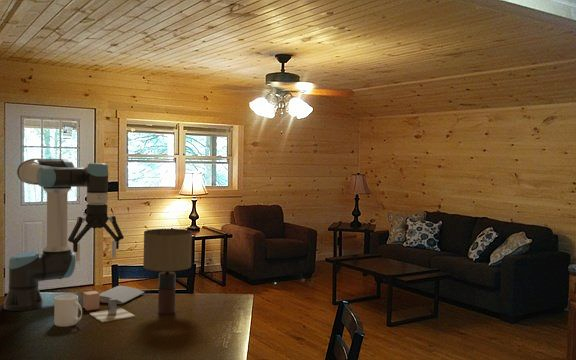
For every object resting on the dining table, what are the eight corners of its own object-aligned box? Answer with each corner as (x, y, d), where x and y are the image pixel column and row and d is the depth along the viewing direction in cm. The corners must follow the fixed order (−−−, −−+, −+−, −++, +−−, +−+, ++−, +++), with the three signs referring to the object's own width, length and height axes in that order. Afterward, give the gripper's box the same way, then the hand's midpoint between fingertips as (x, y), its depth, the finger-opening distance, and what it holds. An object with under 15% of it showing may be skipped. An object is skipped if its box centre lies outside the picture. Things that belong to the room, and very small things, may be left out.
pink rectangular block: (83, 307, 236) (83, 292, 236) (94, 305, 239) (95, 290, 239) (87, 310, 232) (87, 294, 232) (99, 308, 235) (99, 293, 235)
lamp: (132, 314, 227) (134, 232, 226) (160, 303, 246) (162, 227, 245) (172, 321, 220) (174, 236, 219) (198, 309, 239) (200, 230, 237)
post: (107, 315, 226) (108, 298, 225) (113, 314, 227) (114, 298, 227) (110, 317, 224) (110, 300, 223) (116, 316, 225) (116, 299, 225)
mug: (73, 329, 206) (74, 301, 206) (49, 325, 210) (49, 298, 210) (89, 323, 214) (89, 296, 214) (65, 319, 218) (66, 293, 218)
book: (90, 304, 244) (90, 295, 244) (117, 292, 266) (117, 284, 266) (121, 307, 241) (121, 298, 241) (145, 294, 263) (145, 287, 263)
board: (89, 314, 226) (89, 313, 226) (121, 309, 235) (121, 307, 235) (101, 322, 215) (101, 321, 215) (135, 317, 224) (135, 315, 224)
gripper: (65, 205, 195) (64, 263, 196) (132, 203, 209) (131, 258, 210) (60, 203, 201) (59, 260, 202) (126, 202, 216) (125, 254, 216)
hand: (96, 259), depth 206 cm, fingers open, 13 cm apart
